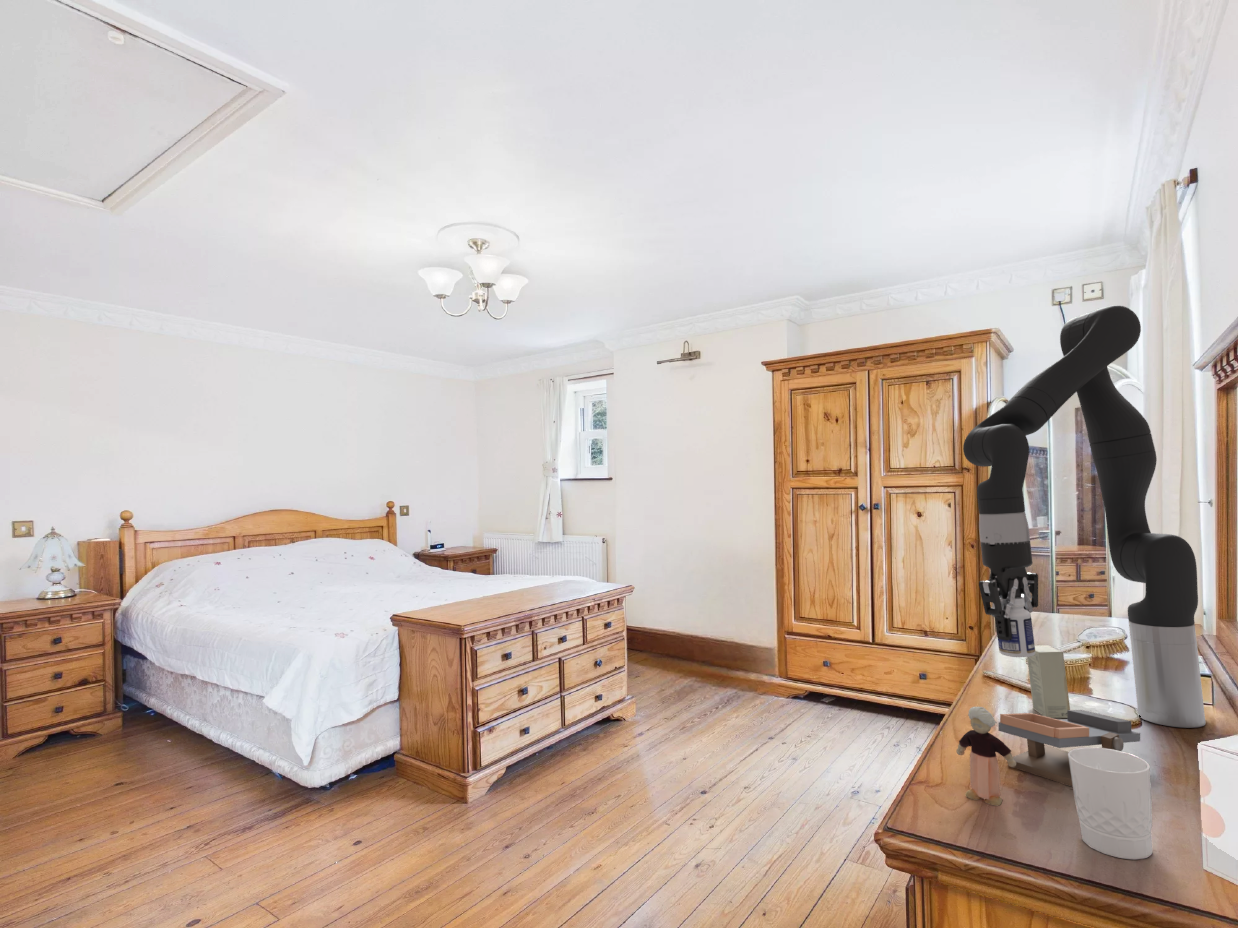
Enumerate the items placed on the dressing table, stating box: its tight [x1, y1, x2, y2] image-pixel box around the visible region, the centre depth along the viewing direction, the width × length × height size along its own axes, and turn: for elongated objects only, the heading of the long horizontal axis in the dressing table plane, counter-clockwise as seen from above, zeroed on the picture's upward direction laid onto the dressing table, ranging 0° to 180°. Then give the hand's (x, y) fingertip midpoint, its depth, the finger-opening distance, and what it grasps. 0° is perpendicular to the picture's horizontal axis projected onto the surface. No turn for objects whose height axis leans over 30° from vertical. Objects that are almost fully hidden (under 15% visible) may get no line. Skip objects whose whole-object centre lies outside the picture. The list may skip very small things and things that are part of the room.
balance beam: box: [997, 709, 1141, 749], centre depth 97 cm, size 22×8×3 cm, turn 118°
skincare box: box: [1026, 644, 1071, 719], centre depth 123 cm, size 6×4×12 cm
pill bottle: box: [997, 597, 1036, 658], centre depth 112 cm, size 5×5×10 cm
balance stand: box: [1007, 713, 1125, 788], centre depth 97 cm, size 10×14×7 cm
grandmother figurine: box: [956, 706, 1016, 807], centre depth 90 cm, size 8×4×13 cm, turn 50°
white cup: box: [1068, 746, 1153, 860], centre depth 78 cm, size 8×8×10 cm
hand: (1015, 636), depth 112 cm, fingers closed on pill bottle, 5 cm apart
